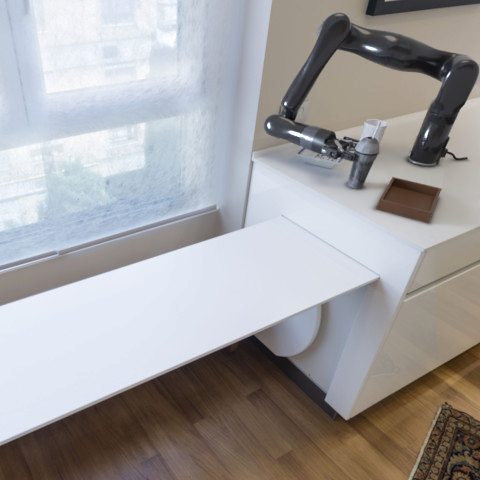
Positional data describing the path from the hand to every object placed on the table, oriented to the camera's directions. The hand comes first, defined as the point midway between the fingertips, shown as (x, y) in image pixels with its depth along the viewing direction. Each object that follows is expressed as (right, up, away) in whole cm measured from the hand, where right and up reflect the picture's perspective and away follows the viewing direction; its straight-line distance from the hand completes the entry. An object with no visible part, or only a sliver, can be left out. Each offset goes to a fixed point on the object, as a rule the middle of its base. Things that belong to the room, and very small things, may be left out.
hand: (361, 154), depth 137 cm
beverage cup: (+1, -8, +6) cm, 10 cm away
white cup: (+15, +12, +28) cm, 34 cm away
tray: (+13, -16, -2) cm, 21 cm away
